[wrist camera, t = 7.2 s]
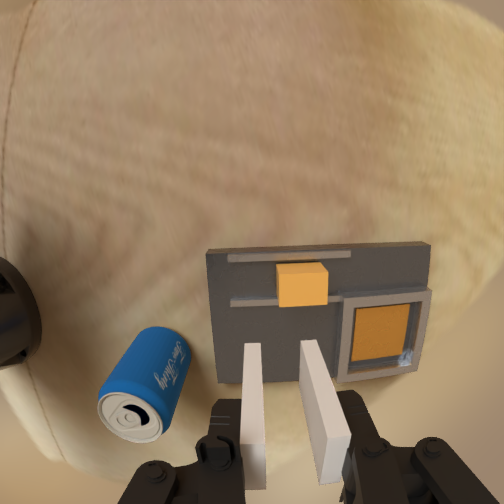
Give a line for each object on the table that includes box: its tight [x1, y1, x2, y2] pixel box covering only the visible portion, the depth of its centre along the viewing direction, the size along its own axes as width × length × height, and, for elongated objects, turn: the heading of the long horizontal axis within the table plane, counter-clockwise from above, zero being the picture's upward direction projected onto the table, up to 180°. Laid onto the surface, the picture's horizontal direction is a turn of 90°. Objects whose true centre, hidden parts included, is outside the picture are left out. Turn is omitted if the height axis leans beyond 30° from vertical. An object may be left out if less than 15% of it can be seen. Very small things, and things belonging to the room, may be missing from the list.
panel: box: [206, 241, 432, 383], centre depth 30 cm, size 22×14×4 cm, turn 92°
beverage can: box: [97, 327, 191, 443], centre depth 27 cm, size 6×6×12 cm
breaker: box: [276, 262, 328, 307], centre depth 27 cm, size 4×3×3 cm
